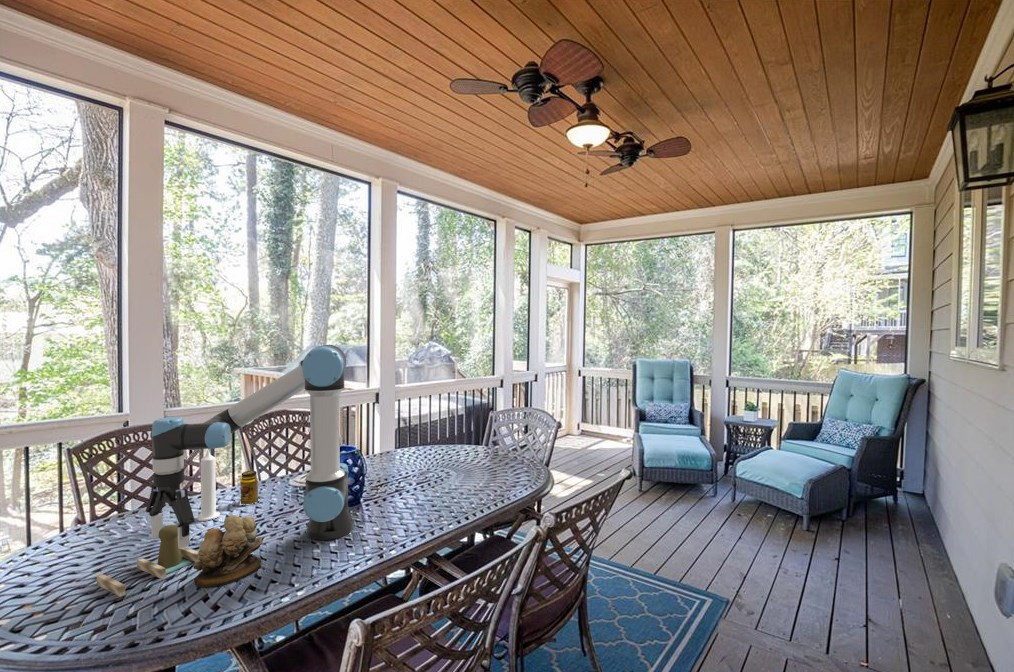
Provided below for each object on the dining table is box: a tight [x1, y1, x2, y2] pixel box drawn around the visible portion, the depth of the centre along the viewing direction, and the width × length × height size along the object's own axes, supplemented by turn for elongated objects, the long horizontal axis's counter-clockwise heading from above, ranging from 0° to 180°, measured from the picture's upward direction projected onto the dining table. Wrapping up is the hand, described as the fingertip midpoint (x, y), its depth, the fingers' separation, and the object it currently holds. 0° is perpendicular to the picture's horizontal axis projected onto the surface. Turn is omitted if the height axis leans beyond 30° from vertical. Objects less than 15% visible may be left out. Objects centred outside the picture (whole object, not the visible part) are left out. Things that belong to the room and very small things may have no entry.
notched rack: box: [95, 546, 200, 598], centre depth 139 cm, size 12×30×2 cm, turn 154°
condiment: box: [239, 470, 262, 505], centre depth 188 cm, size 7×8×12 cm
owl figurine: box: [192, 514, 264, 589], centre depth 135 cm, size 18×12×17 cm, turn 142°
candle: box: [196, 449, 221, 522], centre depth 172 cm, size 7×7×25 cm
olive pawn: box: [157, 524, 183, 569], centre depth 139 cm, size 6×6×11 cm
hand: (170, 541), depth 139 cm, fingers open, 13 cm apart
